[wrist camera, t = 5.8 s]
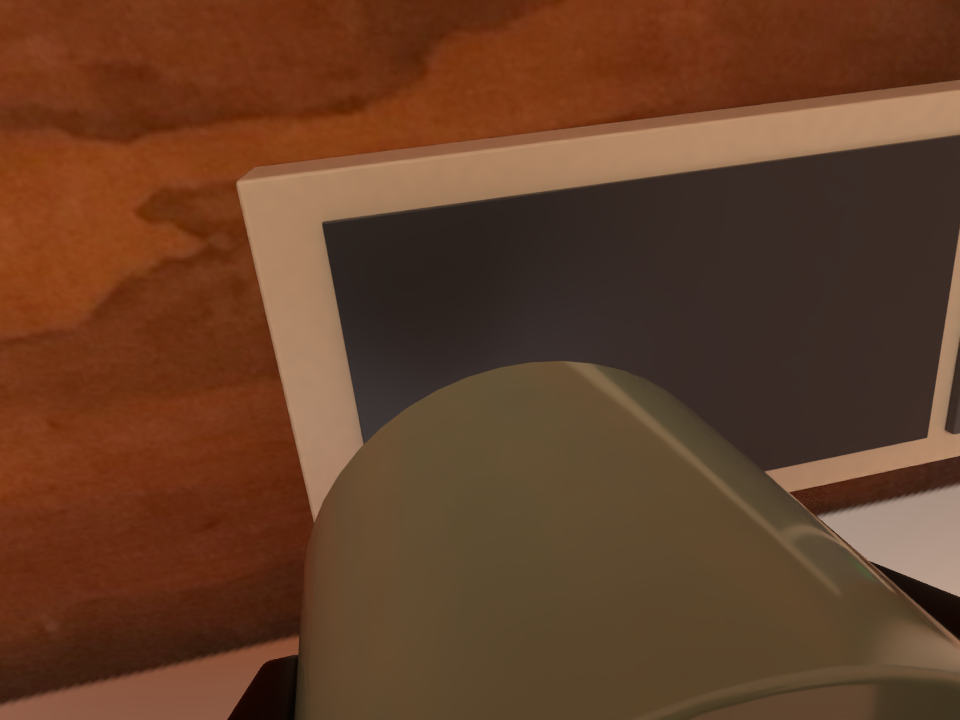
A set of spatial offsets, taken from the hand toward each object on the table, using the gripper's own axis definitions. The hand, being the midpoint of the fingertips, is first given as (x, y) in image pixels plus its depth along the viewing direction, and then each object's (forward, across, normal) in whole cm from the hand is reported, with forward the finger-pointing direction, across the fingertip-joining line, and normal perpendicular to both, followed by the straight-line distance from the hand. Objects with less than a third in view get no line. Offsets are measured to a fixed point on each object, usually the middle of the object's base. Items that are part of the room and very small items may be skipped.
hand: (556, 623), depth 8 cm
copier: (+11, -6, 0) cm, 13 cm away
